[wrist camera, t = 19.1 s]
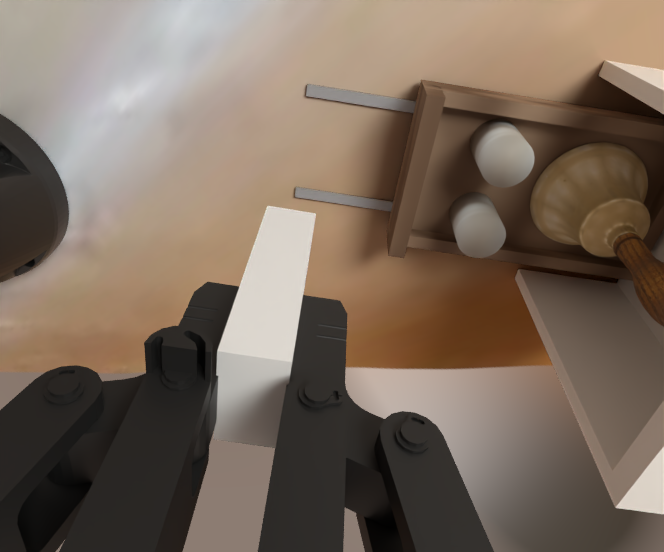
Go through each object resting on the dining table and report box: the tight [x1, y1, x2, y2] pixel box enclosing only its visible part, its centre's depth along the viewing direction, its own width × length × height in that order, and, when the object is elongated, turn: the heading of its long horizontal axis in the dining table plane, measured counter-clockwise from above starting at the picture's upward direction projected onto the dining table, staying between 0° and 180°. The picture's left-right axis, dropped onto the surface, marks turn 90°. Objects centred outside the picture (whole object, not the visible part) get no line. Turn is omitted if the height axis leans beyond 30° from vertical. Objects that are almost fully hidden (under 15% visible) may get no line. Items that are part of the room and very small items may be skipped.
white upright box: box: [295, 60, 664, 514], centre depth 30 cm, size 29×18×22 cm, turn 82°
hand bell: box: [530, 142, 664, 327], centre depth 32 cm, size 8×8×16 cm
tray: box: [387, 80, 664, 281], centre depth 37 cm, size 20×12×5 cm, turn 82°
